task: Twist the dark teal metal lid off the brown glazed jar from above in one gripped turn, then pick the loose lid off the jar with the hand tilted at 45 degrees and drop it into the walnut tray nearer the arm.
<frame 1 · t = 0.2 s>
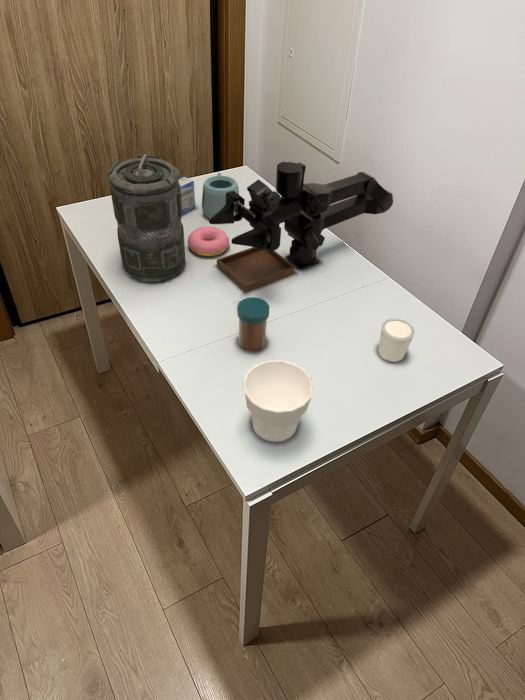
hand: (220, 231, 118), 17 cm above the table, tool horizontal, fingers open, 9 cm apart
medicine box: (180, 211, 156), on the table
jar: (251, 342, 117), on the table
tray: (255, 269, 137), on the table
mug: (220, 211, 157), on the table
lid: (253, 308, 110), point 10 cm above the table, screwed on, not yet turned
canister: (154, 266, 136), on the table
cream flower pot: (274, 424, 101), on the table
doughnut: (208, 248, 143), on the table
cream cylinder: (390, 353, 117), on the table
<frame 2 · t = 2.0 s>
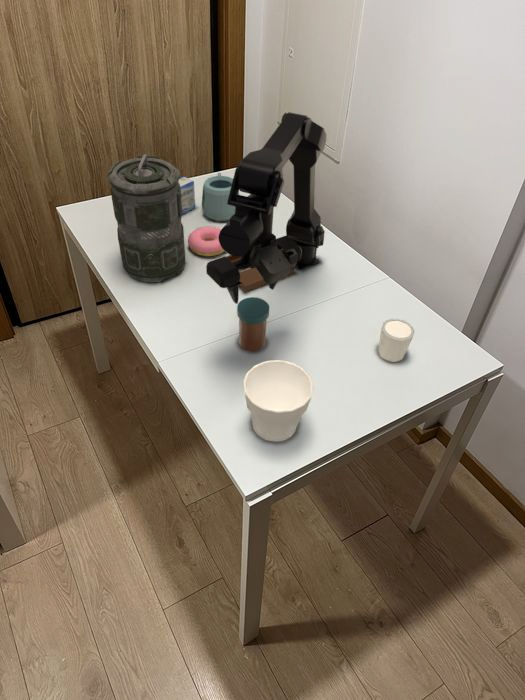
hand: (253, 295, 108), 13 cm above the table, tool pointing down, fingers open, 8 cm apart
nothing on the table moved.
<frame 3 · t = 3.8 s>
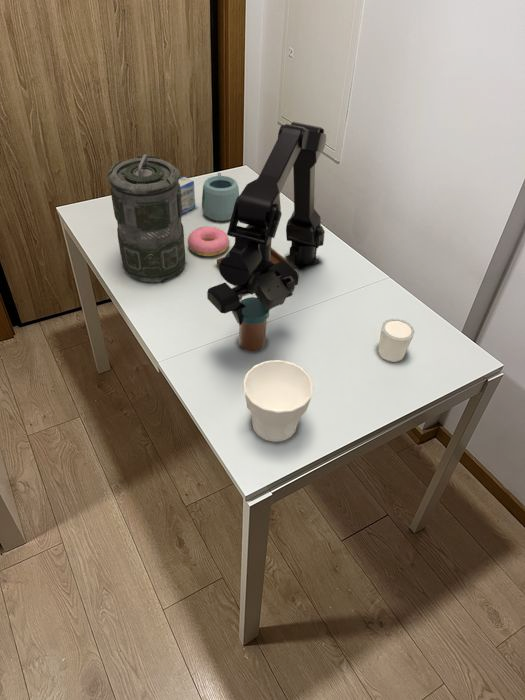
hand: (252, 318, 112), 7 cm above the table, tool pointing down, fingers closed on lid, 6 cm apart
lid: (253, 308, 110), point 10 cm above the table, screwed on, not yet turned, touching gripper
everything else where it was.
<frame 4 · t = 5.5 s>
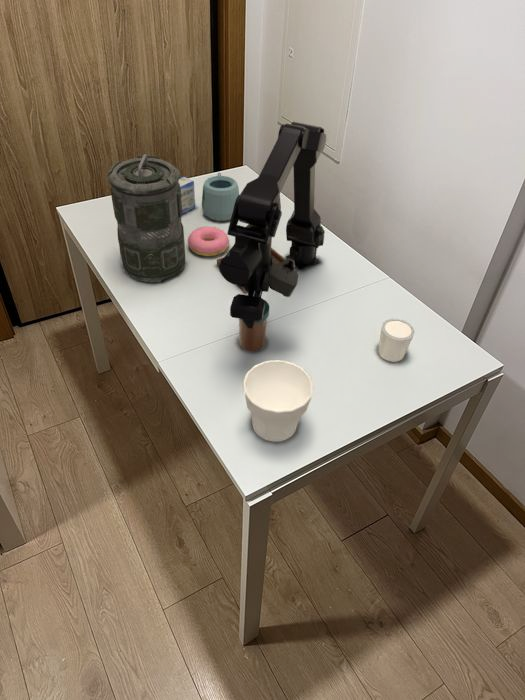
hand: (252, 317, 112), 7 cm above the table, tool pointing down, fingers closed on lid, 6 cm apart
lid: (253, 307, 110), point 10 cm above the table, turned 46° so far, risen 0.1 cm, still on its thread, touching gripper
everything else where it was.
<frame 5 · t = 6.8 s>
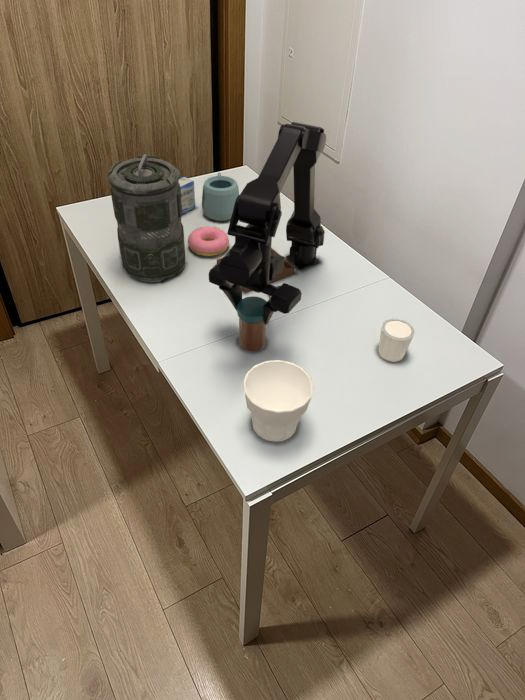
hand: (253, 317, 112), 7 cm above the table, tool pointing down, fingers closed on lid, 6 cm apart
lid: (253, 307, 110), point 10 cm above the table, off its thread, touching gripper
everything else where it was.
when the fingers open (7 cm above the table, at t = 8.4 s): lid stays where it is, resting on jar.
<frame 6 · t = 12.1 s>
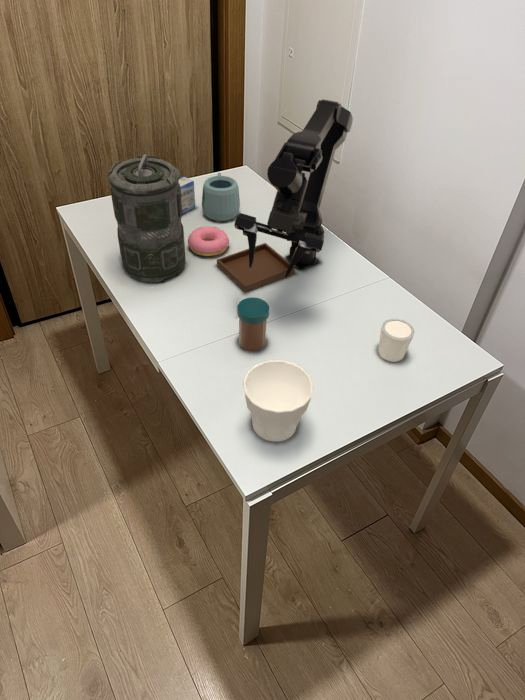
hand: (267, 273, 113), 14 cm above the table, tool tilted 40°, fingers open, 7 cm apart
jar: (251, 342, 117), on the table, touching lid
lid: (253, 308, 110), point 10 cm above the table, off its thread, touching jar
everything else where it was.
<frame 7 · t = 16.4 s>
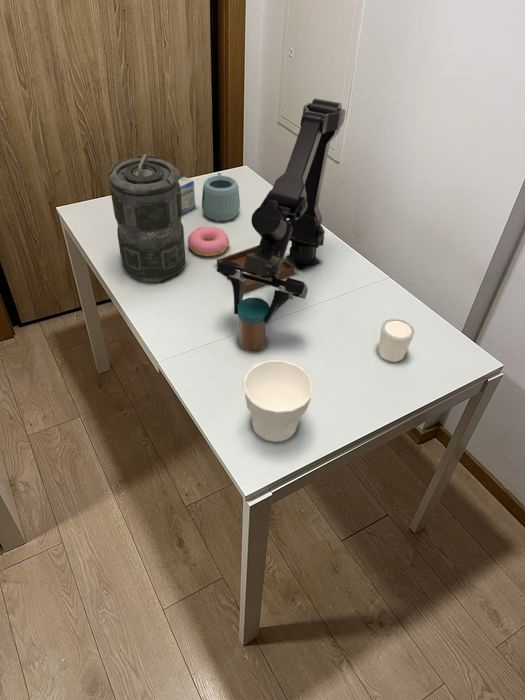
hand: (250, 318, 111), 8 cm above the table, tool tilted 45°, fingers closed on lid, 6 cm apart
lid: (253, 308, 110), point 10 cm above the table, off its thread, touching gripper, jar
everything else where it was.
when the fingers open (2 cm above the table, at t = 24.4 s): lid drops 2 cm, resting on tray.
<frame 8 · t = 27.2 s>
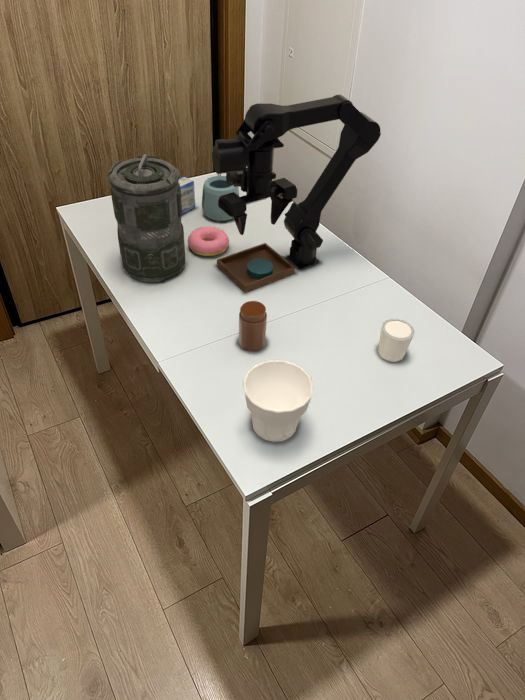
hand: (257, 229, 128), 12 cm above the table, tool pointing down, fingers open, 9 cm apart
jar: (251, 342, 117), on the table
lid: (260, 266, 134), point 2 cm above the table, off its thread, touching tray
everything else where it was.
at the end: lid came off its thread; lid inside the target area on the tray (1.8 cm from its centre), point 2.0 cm above the tray's base; the gripper is holding nothing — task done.
